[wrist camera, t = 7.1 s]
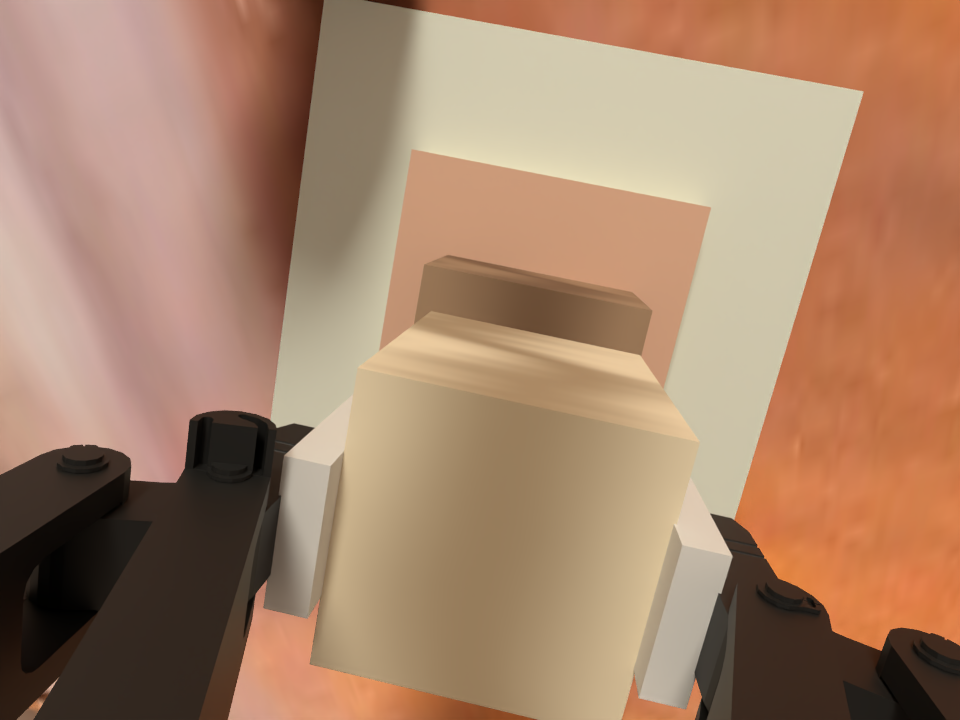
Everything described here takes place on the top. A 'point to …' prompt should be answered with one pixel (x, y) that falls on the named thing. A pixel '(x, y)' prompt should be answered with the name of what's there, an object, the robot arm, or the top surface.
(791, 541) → the top surface
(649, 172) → the board
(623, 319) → the walnut block
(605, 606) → the maple block
